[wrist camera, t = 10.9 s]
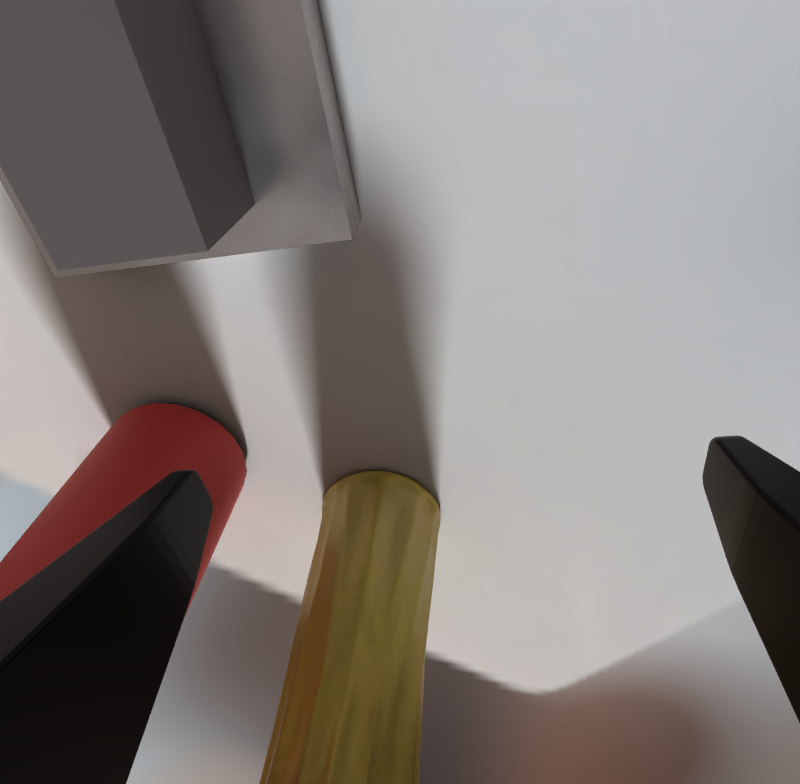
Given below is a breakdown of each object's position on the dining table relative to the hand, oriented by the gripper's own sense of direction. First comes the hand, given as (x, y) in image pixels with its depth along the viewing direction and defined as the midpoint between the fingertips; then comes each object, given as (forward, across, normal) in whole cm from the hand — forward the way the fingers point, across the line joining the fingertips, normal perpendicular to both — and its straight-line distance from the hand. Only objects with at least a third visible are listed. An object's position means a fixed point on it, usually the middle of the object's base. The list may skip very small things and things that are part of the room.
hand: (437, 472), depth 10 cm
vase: (+12, +5, +14) cm, 19 cm away
